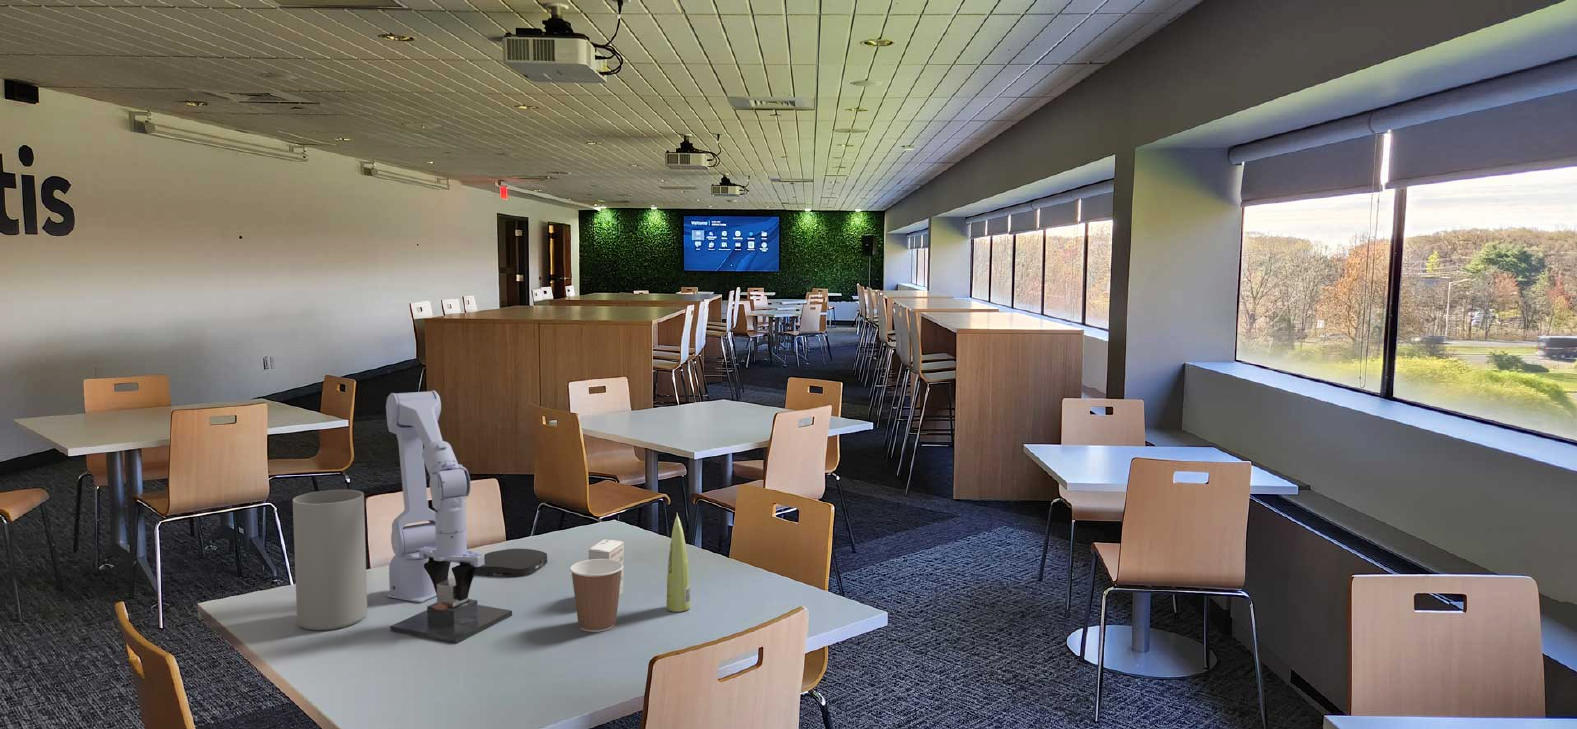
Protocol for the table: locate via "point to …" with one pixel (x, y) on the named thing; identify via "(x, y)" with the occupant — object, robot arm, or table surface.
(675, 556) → the tube
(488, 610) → the stand
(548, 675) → the table surface
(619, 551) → the ink box
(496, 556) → the media streaming box
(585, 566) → the coffee cup
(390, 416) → the robot arm
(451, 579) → the column
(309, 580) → the cylinder vase
